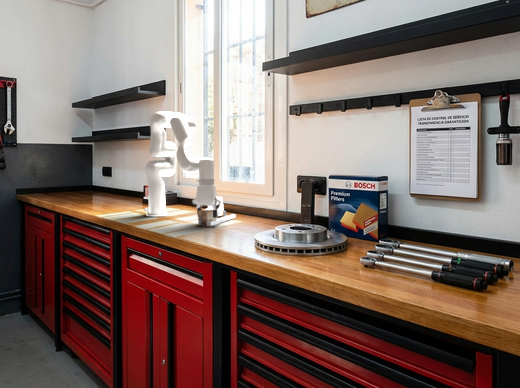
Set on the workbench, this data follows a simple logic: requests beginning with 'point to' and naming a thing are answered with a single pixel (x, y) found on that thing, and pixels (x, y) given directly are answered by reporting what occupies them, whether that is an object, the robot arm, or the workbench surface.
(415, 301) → the workbench surface
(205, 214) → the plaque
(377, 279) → the workbench surface
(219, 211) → the mug
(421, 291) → the workbench surface
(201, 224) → the screw pegs
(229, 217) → the cleat rail
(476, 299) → the workbench surface
